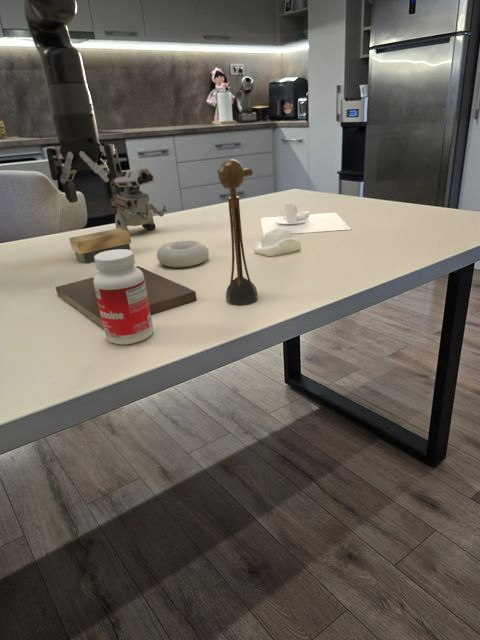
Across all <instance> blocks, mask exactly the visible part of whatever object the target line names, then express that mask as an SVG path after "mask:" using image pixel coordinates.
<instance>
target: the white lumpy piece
mask: <svg viewBox="0 0 480 640" xmlns="http://www.w3.org/2000/svg"><path fill="white" fill-rule="evenodd" d="M301 245H302V244H301V242H300V241H299V240H297V239H296V238H295V237H293V236H292V234H291V232H290V230H289V229H288V230H284V229H280V228H277V229H274V230H271V231H269V232H267V233H266V234H265V236H263V235H262V236H261V237H260V240H258V241H257V242H255V244H254V247H253V250H252V251H253V252H254V253H255V254H256V255H257V254H258V255H262V256H266V257H275V256H279V255H280V256H281V255H285V254H291V253H294V252H296V251H297V252H298V251H300V249H301Z"/></svg>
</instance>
